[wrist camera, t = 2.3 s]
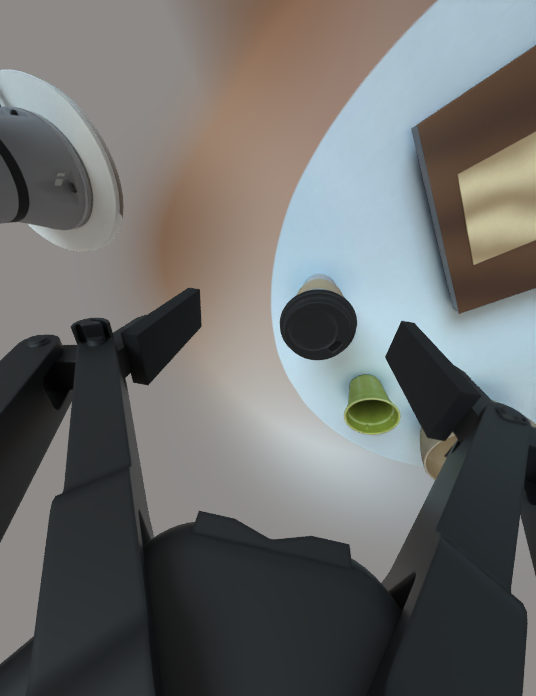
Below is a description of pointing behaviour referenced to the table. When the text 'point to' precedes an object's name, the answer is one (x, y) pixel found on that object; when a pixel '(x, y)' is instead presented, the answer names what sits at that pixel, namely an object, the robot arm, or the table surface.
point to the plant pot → (370, 407)
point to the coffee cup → (318, 320)
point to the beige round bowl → (437, 451)
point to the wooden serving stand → (484, 185)
